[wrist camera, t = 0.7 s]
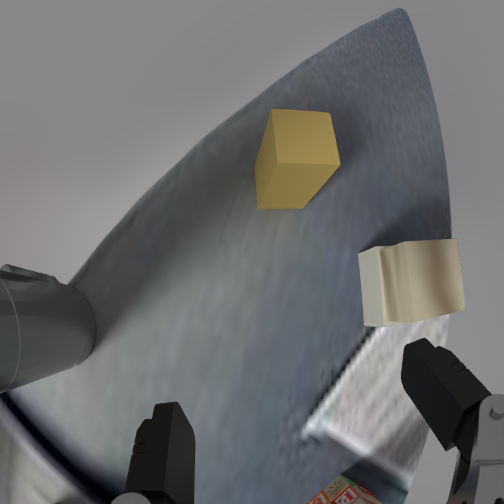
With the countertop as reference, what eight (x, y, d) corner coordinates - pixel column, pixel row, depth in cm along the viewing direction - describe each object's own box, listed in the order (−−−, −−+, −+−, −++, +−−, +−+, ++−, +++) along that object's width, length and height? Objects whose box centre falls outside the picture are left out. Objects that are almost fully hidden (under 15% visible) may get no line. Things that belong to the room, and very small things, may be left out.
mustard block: (257, 209, 33) (277, 162, 22) (254, 166, 34) (271, 108, 23) (303, 208, 33) (340, 164, 23) (297, 166, 34) (329, 112, 24)
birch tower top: (386, 321, 28) (412, 322, 23) (379, 251, 29) (403, 241, 25) (437, 310, 29) (464, 309, 24) (430, 247, 30) (456, 238, 26)
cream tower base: (363, 325, 32) (383, 327, 28) (357, 254, 34) (376, 246, 29) (418, 316, 33) (441, 315, 29) (412, 251, 35) (434, 243, 30)
